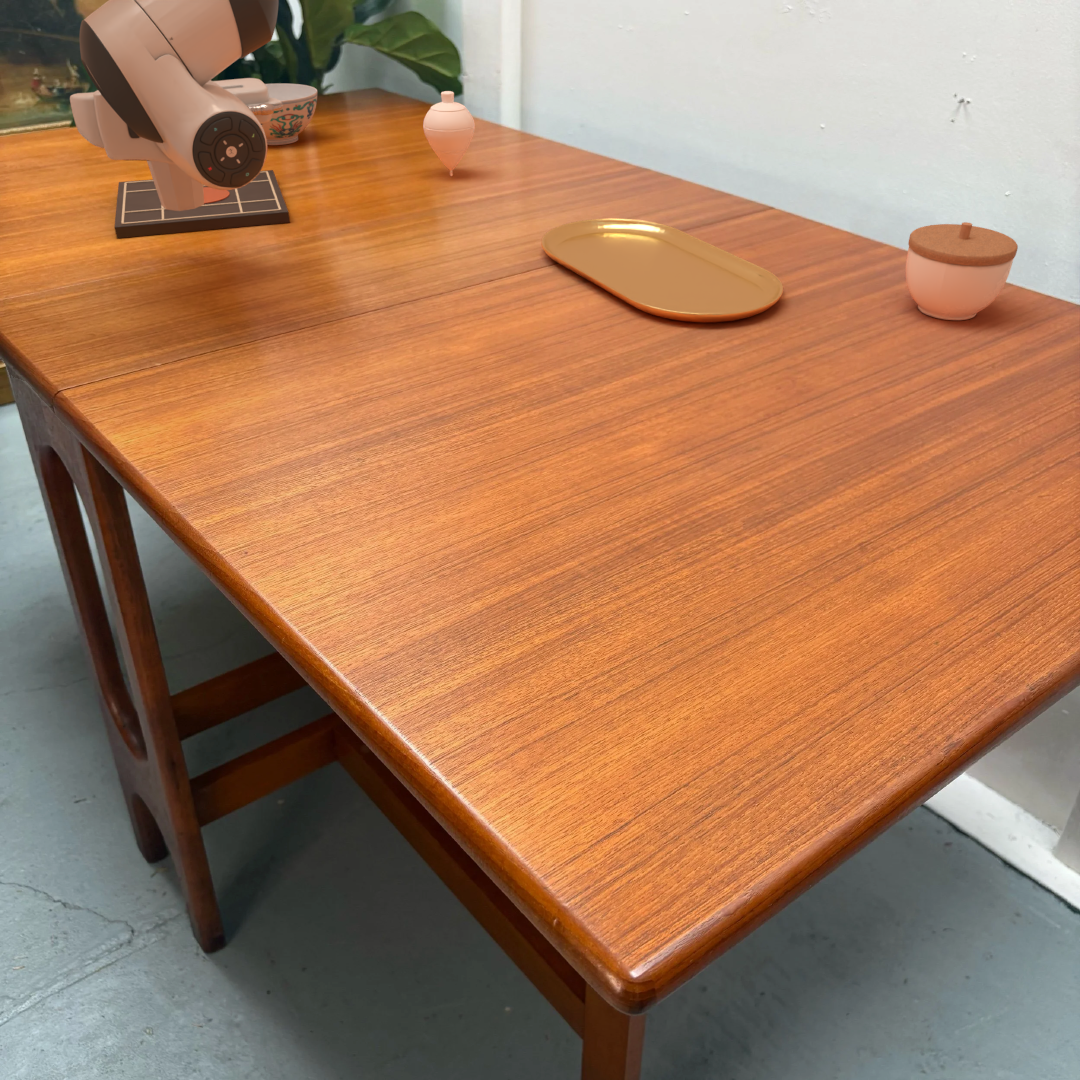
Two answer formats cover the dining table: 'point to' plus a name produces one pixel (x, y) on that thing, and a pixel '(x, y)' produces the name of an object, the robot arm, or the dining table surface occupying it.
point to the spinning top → (449, 130)
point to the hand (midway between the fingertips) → (159, 94)
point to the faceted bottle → (175, 187)
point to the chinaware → (289, 112)
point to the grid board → (199, 208)
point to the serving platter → (663, 269)
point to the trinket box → (957, 268)
